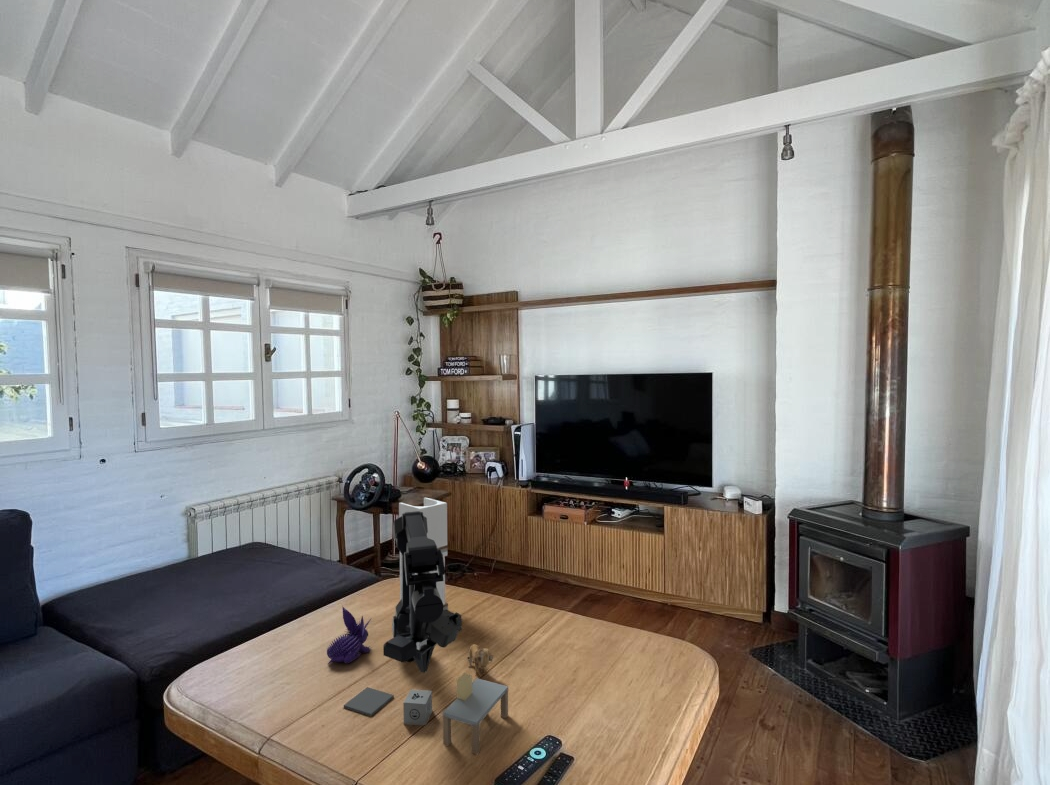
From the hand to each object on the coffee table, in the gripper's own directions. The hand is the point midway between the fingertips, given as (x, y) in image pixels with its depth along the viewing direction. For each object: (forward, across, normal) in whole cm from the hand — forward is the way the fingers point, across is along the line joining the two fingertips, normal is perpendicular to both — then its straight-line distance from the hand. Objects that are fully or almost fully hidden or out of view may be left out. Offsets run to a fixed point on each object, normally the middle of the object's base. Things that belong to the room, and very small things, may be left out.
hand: (423, 671), depth 121 cm
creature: (+12, +13, +37) cm, 41 cm away
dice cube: (+12, +1, +2) cm, 12 cm away
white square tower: (+13, +45, +39) cm, 61 cm away
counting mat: (+12, -1, +16) cm, 20 cm away
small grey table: (+12, +4, -12) cm, 17 cm away
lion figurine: (+12, +24, +3) cm, 27 cm away
